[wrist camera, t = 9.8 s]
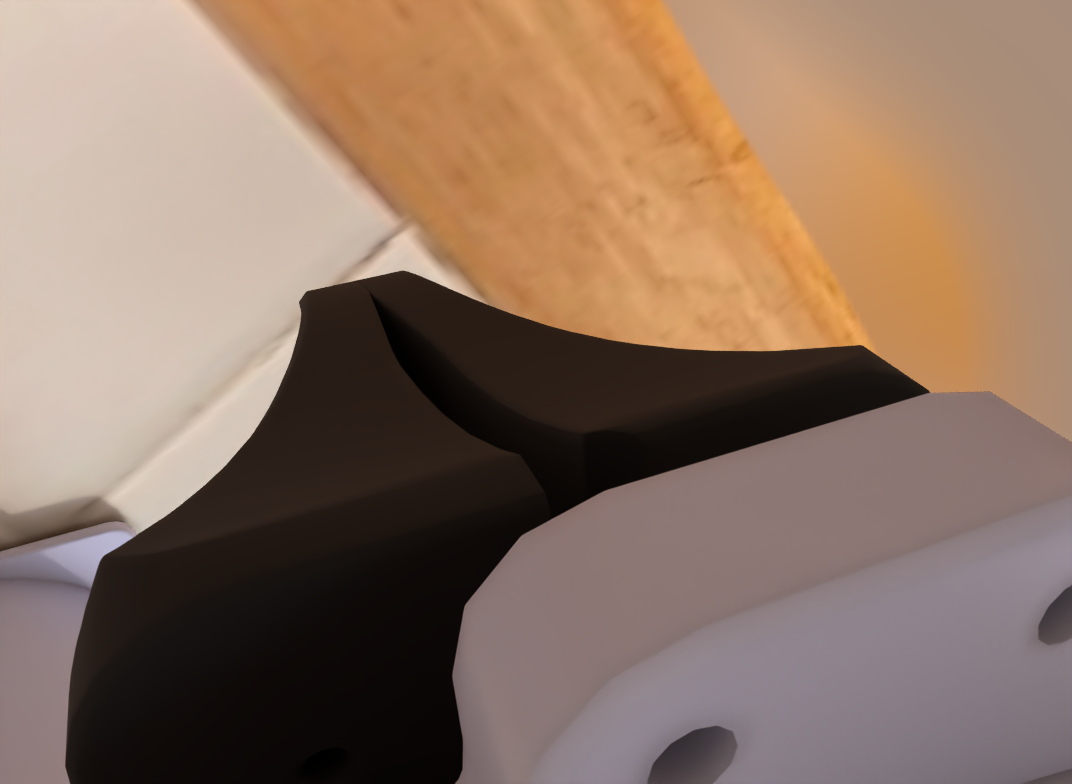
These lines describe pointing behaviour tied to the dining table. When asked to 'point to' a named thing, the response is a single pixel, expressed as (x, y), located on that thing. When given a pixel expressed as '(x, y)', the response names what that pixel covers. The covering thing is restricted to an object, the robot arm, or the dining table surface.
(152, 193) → the dining table surface
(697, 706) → the robot arm
